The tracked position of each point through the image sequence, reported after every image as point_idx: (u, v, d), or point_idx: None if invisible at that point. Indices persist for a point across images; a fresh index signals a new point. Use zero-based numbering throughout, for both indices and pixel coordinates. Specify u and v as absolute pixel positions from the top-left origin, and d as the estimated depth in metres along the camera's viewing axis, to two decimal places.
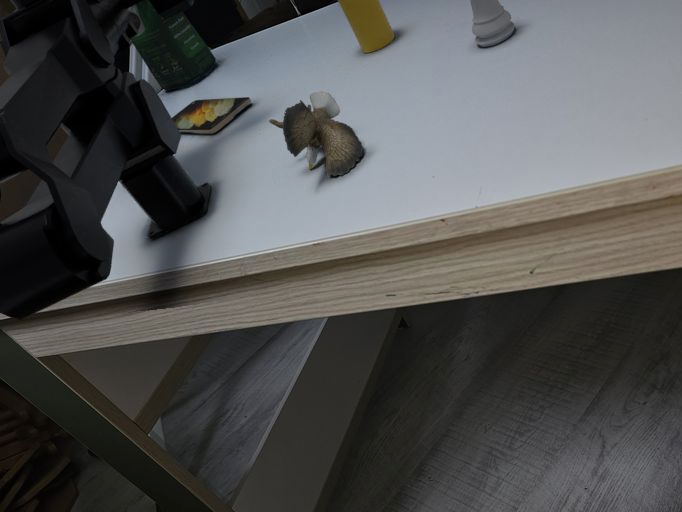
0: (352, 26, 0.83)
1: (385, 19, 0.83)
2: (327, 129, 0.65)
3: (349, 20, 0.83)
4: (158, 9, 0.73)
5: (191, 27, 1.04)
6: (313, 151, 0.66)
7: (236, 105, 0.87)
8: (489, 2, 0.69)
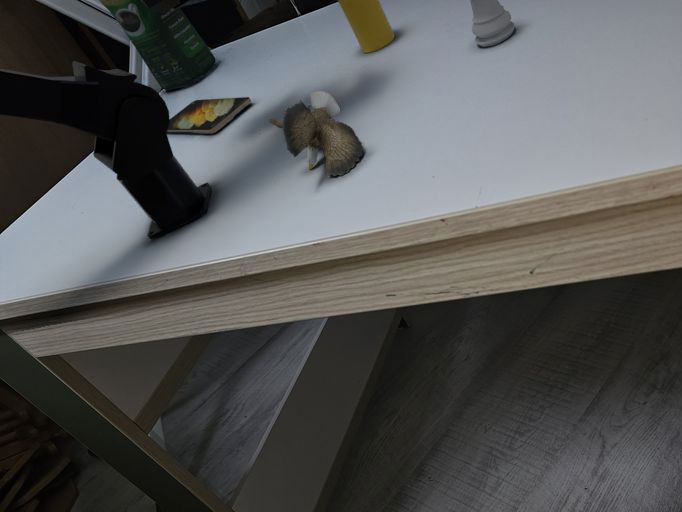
0: (352, 26, 0.83)
1: (385, 19, 0.83)
2: (327, 129, 0.65)
3: (349, 20, 0.83)
4: None
5: (191, 27, 1.04)
6: (313, 151, 0.66)
7: (236, 105, 0.87)
8: (490, 2, 0.69)
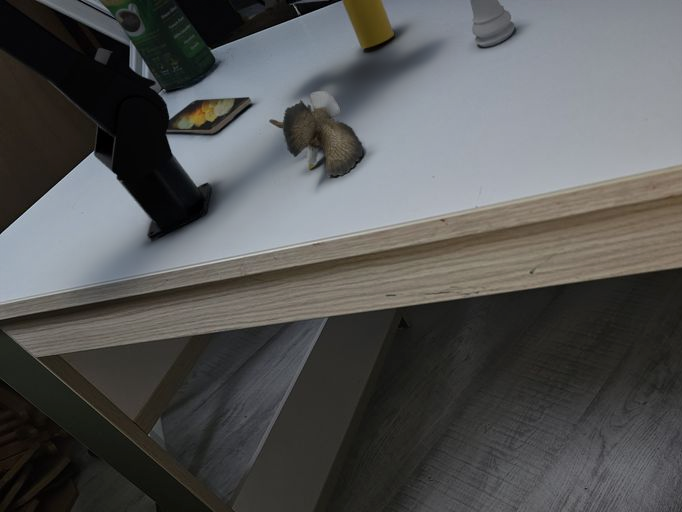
0: (352, 20, 0.83)
1: (385, 16, 0.83)
2: (327, 129, 0.65)
3: (349, 13, 0.83)
4: None
5: (191, 27, 1.04)
6: (313, 151, 0.66)
7: (236, 105, 0.87)
8: (490, 2, 0.69)
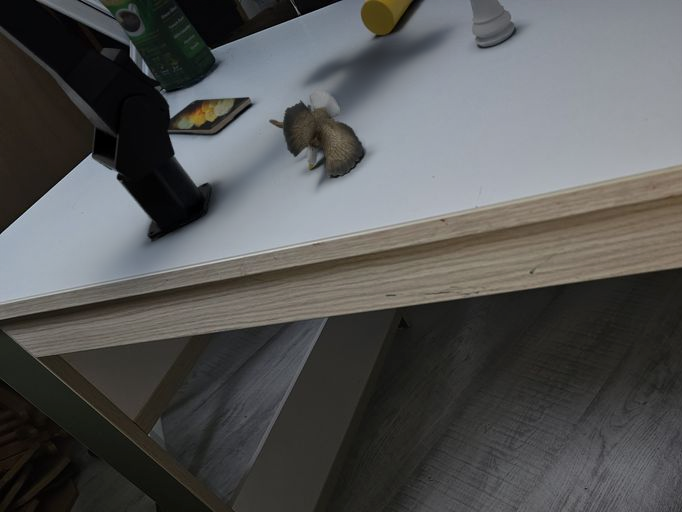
0: None
1: (399, 6, 0.86)
2: (327, 129, 0.65)
3: None
4: None
5: (191, 27, 1.04)
6: (313, 151, 0.66)
7: (236, 105, 0.87)
8: (490, 2, 0.69)
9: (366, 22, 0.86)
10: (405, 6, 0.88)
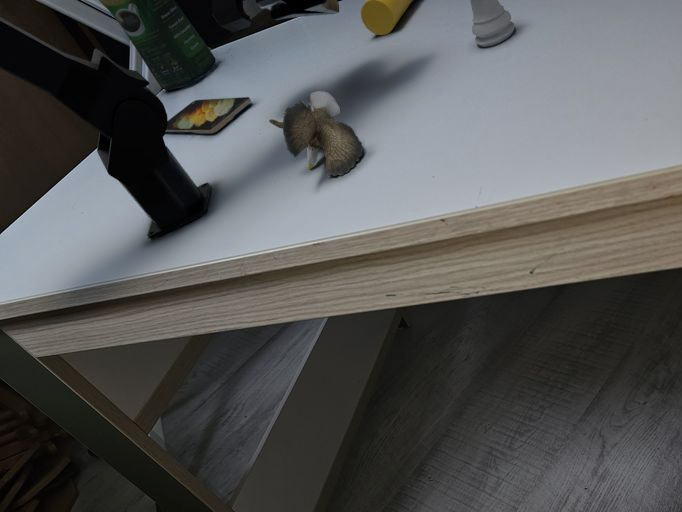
0: None
1: (399, 6, 0.86)
2: (327, 129, 0.65)
3: None
4: None
5: (191, 27, 1.04)
6: (313, 151, 0.66)
7: (236, 105, 0.87)
8: (490, 2, 0.69)
9: (366, 22, 0.86)
10: (405, 6, 0.88)
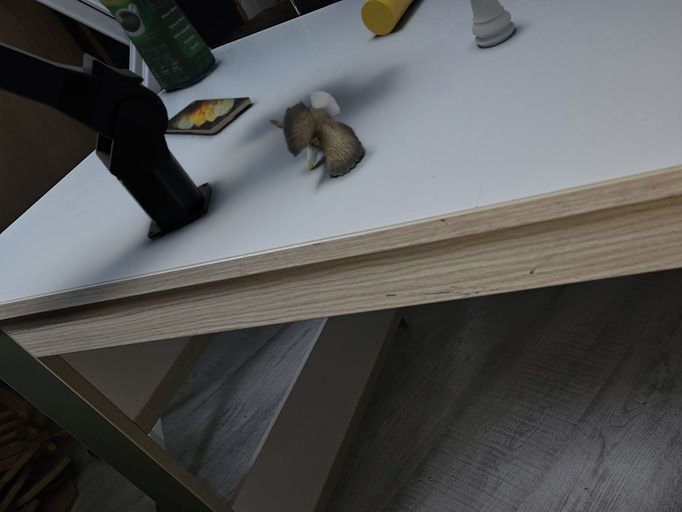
0: None
1: (399, 6, 0.86)
2: (327, 129, 0.65)
3: None
4: None
5: (191, 27, 1.04)
6: (313, 151, 0.66)
7: (236, 105, 0.87)
8: (490, 2, 0.69)
9: (366, 22, 0.86)
10: (405, 6, 0.88)
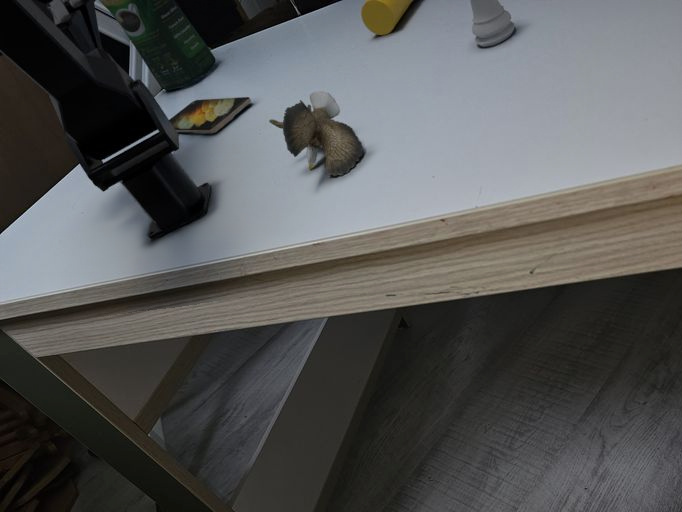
0: None
1: (399, 6, 0.86)
2: (327, 129, 0.65)
3: None
4: None
5: (191, 27, 1.04)
6: (313, 151, 0.66)
7: (236, 105, 0.87)
8: (490, 2, 0.69)
9: (367, 21, 0.86)
10: (405, 6, 0.88)
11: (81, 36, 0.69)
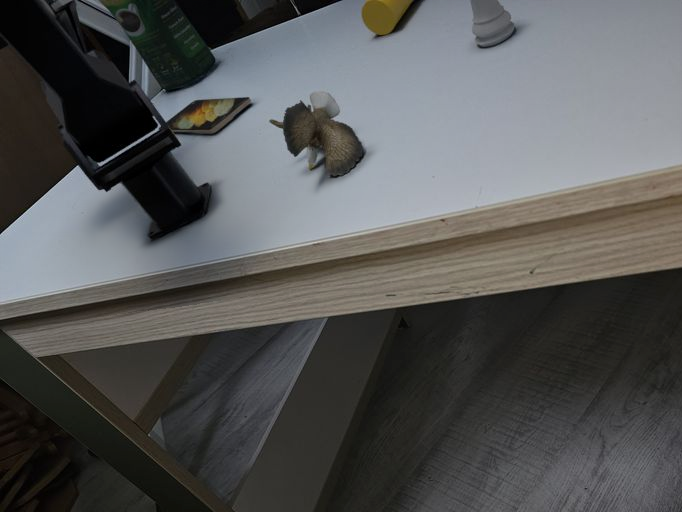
0: None
1: (400, 6, 0.86)
2: (327, 129, 0.65)
3: None
4: None
5: (191, 27, 1.04)
6: (313, 151, 0.66)
7: (236, 105, 0.87)
8: (490, 2, 0.69)
9: (367, 21, 0.86)
10: (406, 7, 0.88)
11: (69, 36, 0.68)
